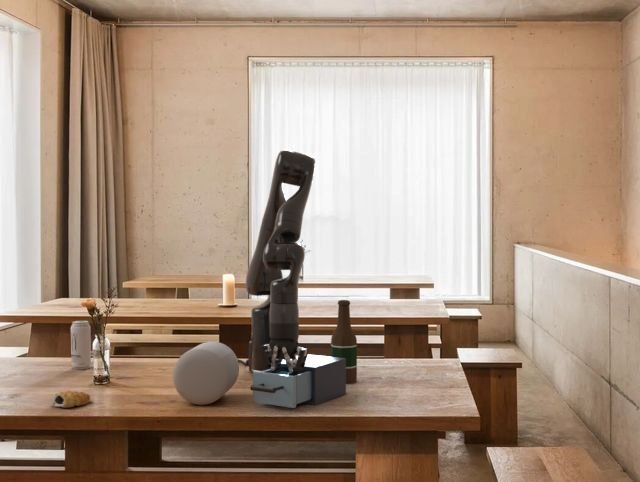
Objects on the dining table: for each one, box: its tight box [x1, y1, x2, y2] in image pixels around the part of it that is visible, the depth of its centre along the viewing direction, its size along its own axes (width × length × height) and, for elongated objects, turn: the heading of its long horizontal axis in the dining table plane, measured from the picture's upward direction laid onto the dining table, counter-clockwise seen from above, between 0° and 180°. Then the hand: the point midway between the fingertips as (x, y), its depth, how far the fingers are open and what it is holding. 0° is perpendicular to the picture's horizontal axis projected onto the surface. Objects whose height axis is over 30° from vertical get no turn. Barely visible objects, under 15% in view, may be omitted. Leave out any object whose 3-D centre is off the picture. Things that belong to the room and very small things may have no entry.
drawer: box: [249, 367, 313, 409], centre depth 214 cm, size 20×13×8 cm, turn 149°
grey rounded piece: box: [159, 341, 240, 406], centre depth 223 cm, size 19×15×25 cm
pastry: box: [51, 390, 91, 409], centre depth 214 cm, size 9×7×4 cm
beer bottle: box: [330, 299, 358, 385], centre depth 243 cm, size 8×8×24 cm
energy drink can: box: [70, 320, 92, 371], centre depth 264 cm, size 6×6×15 cm
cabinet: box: [280, 353, 347, 405], centre depth 224 cm, size 16×14×10 cm
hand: (284, 385), depth 214 cm, fingers closed on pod, 4 cm apart
